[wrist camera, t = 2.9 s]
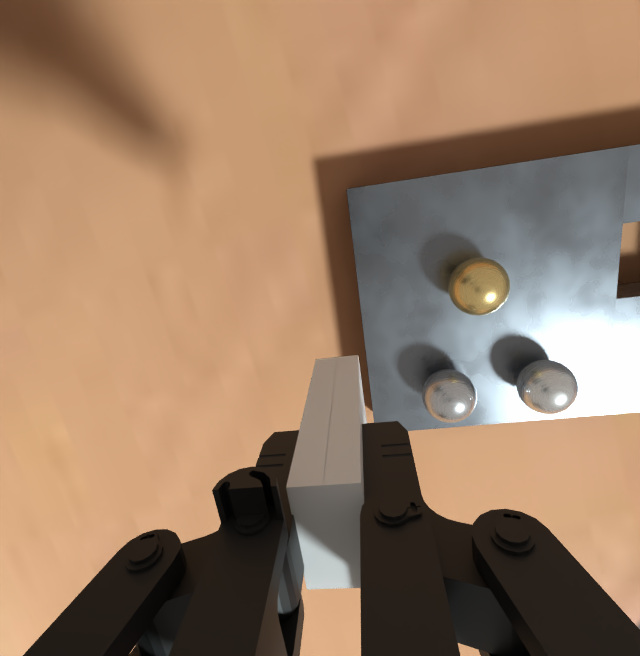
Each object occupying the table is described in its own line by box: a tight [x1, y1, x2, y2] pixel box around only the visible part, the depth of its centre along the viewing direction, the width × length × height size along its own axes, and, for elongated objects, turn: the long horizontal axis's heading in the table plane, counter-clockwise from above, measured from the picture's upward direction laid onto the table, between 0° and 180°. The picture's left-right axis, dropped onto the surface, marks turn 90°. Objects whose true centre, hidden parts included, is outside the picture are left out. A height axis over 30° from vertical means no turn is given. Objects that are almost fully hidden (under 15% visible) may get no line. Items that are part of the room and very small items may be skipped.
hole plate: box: [347, 144, 640, 431], centre depth 27 cm, size 17×24×3 cm
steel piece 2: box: [517, 360, 578, 414], centre depth 26 cm, size 3×3×3 cm
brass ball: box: [448, 257, 510, 316], centre depth 24 cm, size 3×3×3 cm
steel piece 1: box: [422, 369, 477, 423], centre depth 26 cm, size 3×3×3 cm
